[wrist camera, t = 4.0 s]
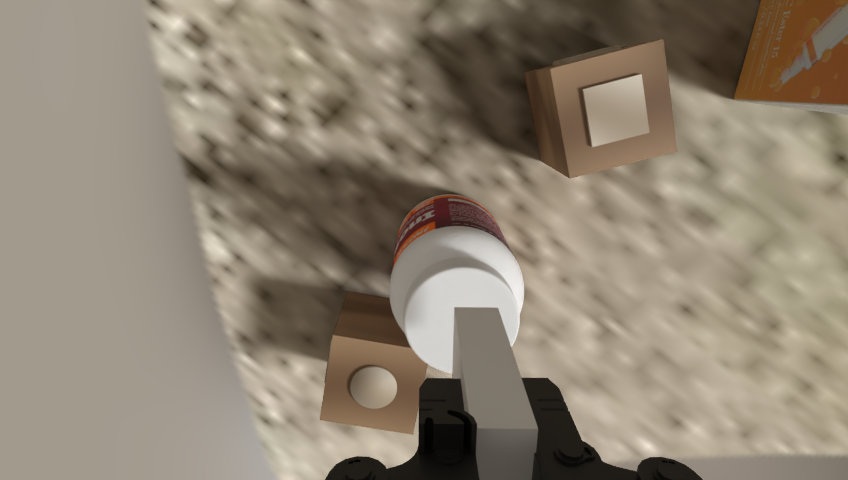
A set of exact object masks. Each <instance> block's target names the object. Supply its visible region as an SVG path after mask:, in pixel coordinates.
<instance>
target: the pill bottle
mask: <svg viewBox="0 0 848 480" xmlns="http://www.w3.org/2000/svg"><path fill="white" fill-rule="evenodd" d="M389 296H390V304H391V309H392V312H393V315H394V317H395V319H396V321H397V323H398V325H399V326H400V328H401V329H402V331H403V332H404V333H405V335H406V338H407V340H408V343H409V345H410V346H411V348H412V349H413V351H414V352H415V354H416V355H417V356H418V357H419V358H420V359H421V360H423V361H424V362H425V363H427V364H428V365H430V366H431V367H433V368H435V369H438V370H440V371H444V372H448V373H452V365H453V332H454V307H489V308H498V309H499V312H500V315H501V318H502V321H503V324H504V327H505V330H506V333H507V336H508V339H509V342H510V345H511V347H512V345H513V343H514V341H515V339H516V336H517V333H518V329H519V321H520V316H519V315H520V312H521V309H522V305H523V299H524V283H523V277H522V273H521V270H520V267H519V265H518V263H517V261H516V259H515V257H514V255H513V253H512V252H511V250H510V248H509V246H508V244H507V242H506V240H505V238H504V236H503V234H502V232H501V230H500V229H499V226H498V224H497V223H496V221H495V219H494V218H493V216H492V215H491V214H490V213H489V212H488V210H487V209H486V208H485V207H483V206H482V205H481V204H479V203H478V202H476V201H474V200H472V199H470V198H468V197H465V196H461V195H454V194H446V195H438V196H434V197H431V198H429V199H426V200H424V201H423V202H421V203H419V204H418V205H416V206H415V207H414V208H413V209H412V210H411V211H410V212H409V213H408V215H407V216H406V217H405V219H404V220H403V222H402V224H401V226H400V229H399V232H398V235H397V240H396V246H395V253H394V259H393V265H392V271H391V277H390V287H389Z"/></svg>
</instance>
